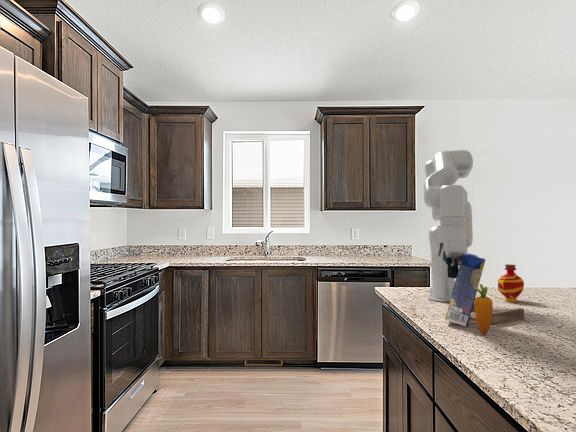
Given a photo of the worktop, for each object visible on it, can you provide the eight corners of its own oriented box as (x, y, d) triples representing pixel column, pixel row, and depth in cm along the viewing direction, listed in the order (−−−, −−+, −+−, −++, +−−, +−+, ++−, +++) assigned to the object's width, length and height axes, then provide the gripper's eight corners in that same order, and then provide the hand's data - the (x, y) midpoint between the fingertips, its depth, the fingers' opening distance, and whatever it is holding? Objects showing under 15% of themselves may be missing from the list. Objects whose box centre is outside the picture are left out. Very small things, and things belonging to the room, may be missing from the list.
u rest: (450, 315, 156) (450, 305, 156) (481, 310, 164) (481, 301, 164) (492, 324, 141) (492, 314, 141) (524, 319, 149) (523, 309, 149)
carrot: (491, 339, 125) (491, 286, 125) (473, 336, 127) (472, 285, 128) (494, 335, 129) (493, 284, 129) (476, 332, 132) (475, 282, 132)
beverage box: (467, 319, 149) (484, 257, 147) (467, 326, 139) (485, 260, 137) (447, 313, 152) (463, 252, 150) (444, 319, 142) (462, 254, 140)
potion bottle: (528, 303, 177) (528, 266, 178) (501, 302, 180) (500, 265, 180) (520, 298, 188) (519, 263, 188) (494, 298, 190) (493, 263, 190)
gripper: (459, 222, 152) (459, 275, 152) (427, 222, 145) (428, 278, 145) (477, 222, 146) (478, 277, 145) (444, 222, 139) (445, 280, 138)
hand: (453, 277), depth 145 cm, fingers closed
